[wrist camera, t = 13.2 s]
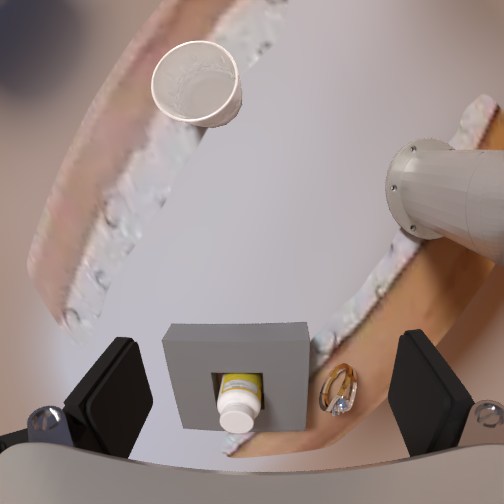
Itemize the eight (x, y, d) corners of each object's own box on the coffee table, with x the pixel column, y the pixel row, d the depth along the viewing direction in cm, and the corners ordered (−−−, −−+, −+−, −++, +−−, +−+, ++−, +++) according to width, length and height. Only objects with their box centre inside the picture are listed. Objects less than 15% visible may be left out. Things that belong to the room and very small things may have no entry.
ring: (326, 391, 44) (333, 428, 36) (309, 383, 43) (314, 421, 36) (356, 359, 42) (369, 394, 34) (339, 350, 42) (350, 385, 34)
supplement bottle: (250, 394, 44) (245, 443, 34) (217, 379, 43) (205, 426, 34) (269, 370, 42) (268, 418, 33) (235, 353, 42) (225, 400, 32)
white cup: (198, 61, 33) (175, 31, 23) (258, 84, 33) (253, 57, 24) (170, 118, 35) (137, 105, 25) (229, 143, 35) (214, 135, 26)
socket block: (306, 321, 41) (309, 339, 36) (303, 410, 45) (305, 430, 41) (171, 323, 42) (161, 340, 38) (189, 409, 46) (183, 428, 42)
